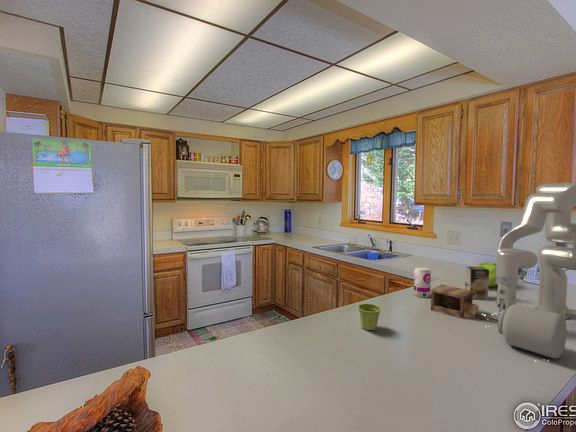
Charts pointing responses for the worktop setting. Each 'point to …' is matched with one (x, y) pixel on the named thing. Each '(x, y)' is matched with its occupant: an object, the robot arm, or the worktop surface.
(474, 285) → the coffee box
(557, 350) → the jar
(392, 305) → the worktop surface
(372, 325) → the plant pot
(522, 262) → the robot arm
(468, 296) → the open wooden crate
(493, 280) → the lettuce
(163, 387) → the worktop surface
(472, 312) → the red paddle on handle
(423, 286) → the supplement can
